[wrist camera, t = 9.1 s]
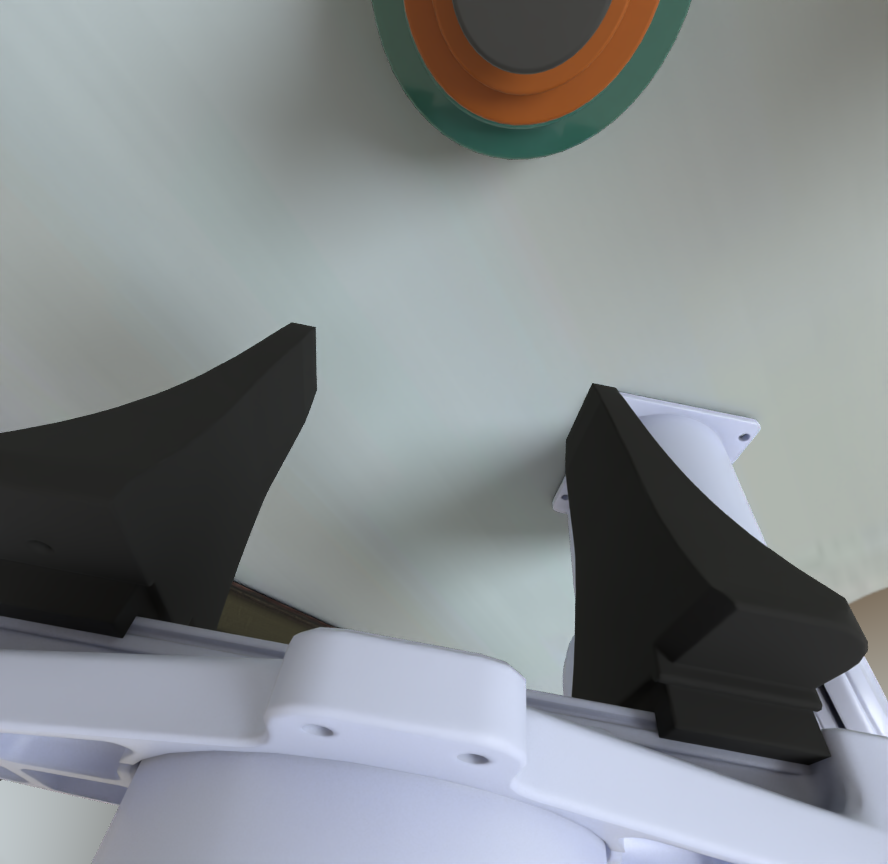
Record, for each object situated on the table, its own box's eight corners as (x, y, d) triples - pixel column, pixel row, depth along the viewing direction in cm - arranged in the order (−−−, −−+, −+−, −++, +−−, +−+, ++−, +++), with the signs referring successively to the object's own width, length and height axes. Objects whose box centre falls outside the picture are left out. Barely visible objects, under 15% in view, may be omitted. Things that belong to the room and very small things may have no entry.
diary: (94, 634, 55) (63, 681, 51) (162, 544, 40) (125, 602, 36) (248, 691, 61) (231, 737, 58) (354, 632, 47) (340, 688, 43)
